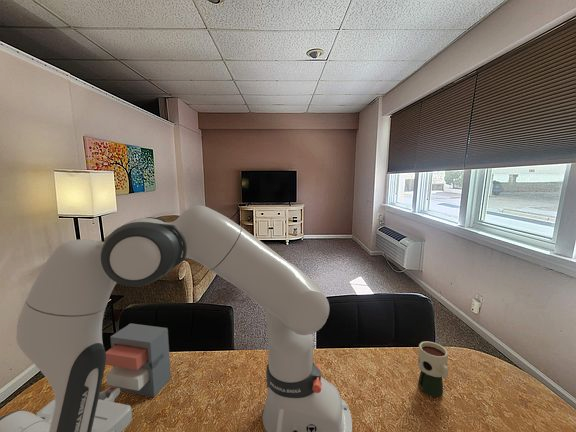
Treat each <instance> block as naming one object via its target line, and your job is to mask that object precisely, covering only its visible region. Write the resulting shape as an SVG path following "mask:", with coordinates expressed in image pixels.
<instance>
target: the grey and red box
mask: <svg viewBox="0 0 576 432" xmlns="http://www.w3.org/2000/svg"><path fill="white" fill-rule="evenodd" d="M116 344H121V345H127V346H134V347H141V348H147V351H148V361H147V362H145V363H144V364H143V365H142V366H141V367H143V368H149V377H150V380H149V381H148V382H147V383H146V384H145V385H144V386H143V387H142V388H141V389H140V390H139V391H137V390H132V389H126V388H121V387H117V388H120V392H125V393H131V394H135V395H141V396H146V397H152V398H156V396H157V395H158V394H159V393H160V391H161V390H162V389H163V388H164V387H165V386H166V385H167V383H168V382H169V381H170V380H171V378H172V377H171V376H172V375H171V374H172V373H171V363H170V361H171V360H170V344H169V329H168V327H161V326H155V325H154V326H153V325H145V324H139V323H138V324H137V323H129V324H128V325H126V326H125V327H122V328H121V329H119V330H118V331H117V332H115V333H114V334H112V335H110V346H111V348H112V347H113V346H115V345H116ZM111 348H110V349H111ZM114 367H115V366H112V368H114ZM114 387H116V386H114Z"/></svg>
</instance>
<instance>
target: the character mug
mask: <svg viewBox="0 0 576 432" xmlns="http://www.w3.org/2000/svg"><path fill="white" fill-rule="evenodd" d="M417 351H418V352H417V353H418V358H417V365H418V366H417V367H418V368H419V371H420V373H419V378H418V382H417V387H418V389H420V387H421V392H422V393H423V394H424V395H426V396H428V397H430V398H439V397H442V396H443V393H444V384H443V379H446V380H447V379H448V377H449V368H448V360H449V352H448V350H447V349H446V347H444V346H442V345H441V344H439V343H436V342H433V341H421V342H420V343H419V344H418V350H417Z"/></svg>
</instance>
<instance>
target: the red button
mask: <svg viewBox="0 0 576 432" xmlns="http://www.w3.org/2000/svg"><path fill="white" fill-rule="evenodd" d="M105 352H106V364H105V366H111V367H113V366H116V367H121V368H127V369H133V370H138V369H139V368H140V367H141V366H142V365H143V364H144V363H145V362H147V361H148V351H147V348H141V347H134V346H127V345H121V344H116V345H115V346H113V347H112V348H109V349H108V350H107V351H106V350H105Z"/></svg>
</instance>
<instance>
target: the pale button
mask: <svg viewBox="0 0 576 432" xmlns="http://www.w3.org/2000/svg"><path fill="white" fill-rule="evenodd" d="M105 376H106V384H107V386H111V387H115V386H116V387H121V388H126V389H132V390H137V391H139V390H140V389H141V388H142V387H143V386H144V385H145V384H146V383H147V382H148V381H149V380H150V377H149V368H143V367H140V368H139V369H138V370H133V369H127V368H121V367H116V366H115V367H114V368H113V367H112V368H111V369H110V370H109V371H107V372H106V373H105Z"/></svg>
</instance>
